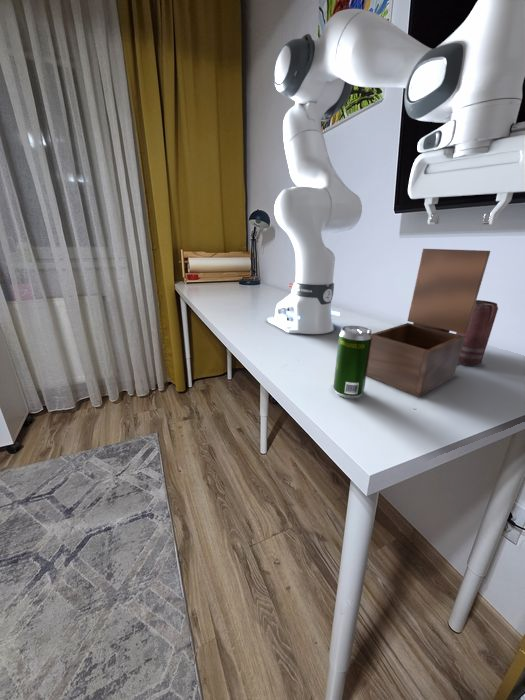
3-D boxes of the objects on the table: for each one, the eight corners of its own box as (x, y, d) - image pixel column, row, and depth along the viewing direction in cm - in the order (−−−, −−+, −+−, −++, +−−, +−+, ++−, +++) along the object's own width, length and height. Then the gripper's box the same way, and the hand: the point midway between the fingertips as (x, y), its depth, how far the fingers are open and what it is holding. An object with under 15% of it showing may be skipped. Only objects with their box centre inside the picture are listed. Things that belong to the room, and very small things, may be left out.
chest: (419, 397, 52) (430, 351, 48) (363, 374, 60) (369, 334, 57) (454, 376, 60) (465, 336, 57) (400, 358, 68) (407, 322, 65)
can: (467, 368, 64) (485, 305, 59) (443, 357, 69) (458, 299, 64) (488, 365, 65) (508, 304, 60) (463, 355, 71) (479, 298, 66)
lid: (489, 250, 51) (498, 251, 54) (422, 248, 60) (433, 249, 63) (465, 334, 56) (474, 330, 59) (407, 321, 65) (418, 318, 68)
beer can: (368, 399, 51) (378, 334, 47) (338, 399, 51) (345, 334, 46) (357, 384, 56) (365, 325, 52) (329, 385, 56) (335, 325, 51)
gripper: (574, 115, 40) (538, 223, 46) (428, 144, 56) (415, 222, 62) (559, 109, 37) (523, 226, 43) (409, 142, 53) (398, 225, 59)
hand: (459, 224), depth 53 cm, fingers open, 8 cm apart
